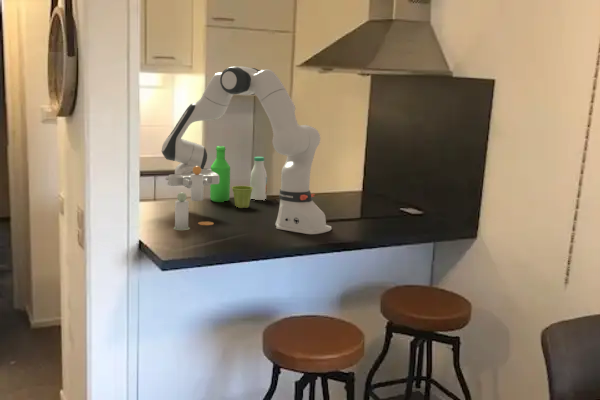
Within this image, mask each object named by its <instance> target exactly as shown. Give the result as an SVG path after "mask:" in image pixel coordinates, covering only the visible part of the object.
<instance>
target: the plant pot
mask: <svg viewBox="0 0 600 400" xmlns="http://www.w3.org/2000/svg"><path fill="white" fill-rule="evenodd" d="M231 189H232V193H233V201H234V207H235V206H236V208H237V207H238V208H237V209H243V208H246V209H247V208H249V207H250V201H251V199H250V197H251V192H252V189H253V187H250V185H249V186H248V185H234V186H232V187H231Z"/></svg>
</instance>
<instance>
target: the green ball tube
mask: <svg viewBox="0 0 600 400" xmlns="http://www.w3.org/2000/svg"><path fill="white" fill-rule="evenodd" d="M176 199H177V200H175V201H174V214H175V215H174V227H175V229H178V230H177V231H186V230H185V229H188V227H189V204H190V203H189V200H187V199H188V198H187V194H186V193H185V192H183V191H182V192H179V193H177V195H176ZM175 229H174V230H175ZM188 230H189V229H188Z"/></svg>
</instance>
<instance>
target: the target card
mask: <svg viewBox="0 0 600 400" xmlns="http://www.w3.org/2000/svg"><path fill="white" fill-rule="evenodd" d="M197 224H198V225H200V226H213V225H214V222H213V221H199V222H198V223H197ZM190 229H191V227H189V226H188V229H185V230H184V231H187V230H190ZM173 230H175V231H179V230H178V229H175V226H174V227H173Z"/></svg>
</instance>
